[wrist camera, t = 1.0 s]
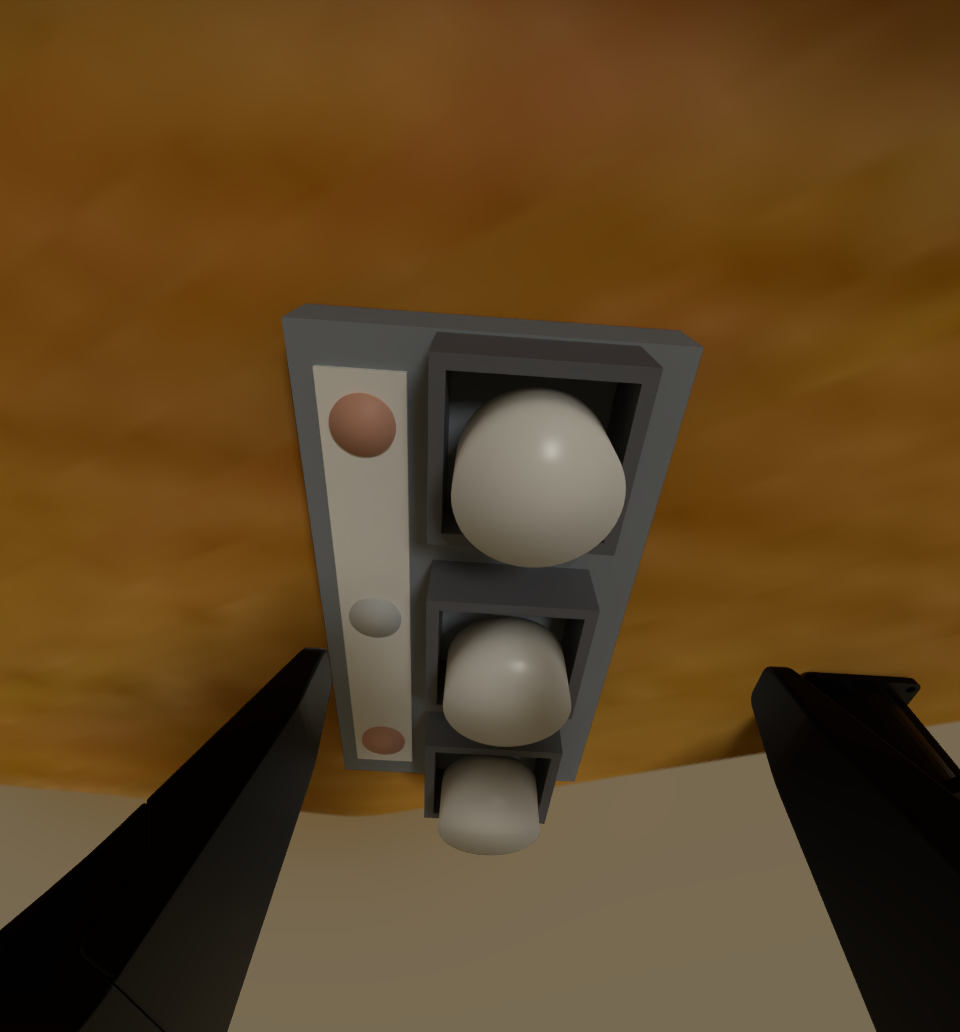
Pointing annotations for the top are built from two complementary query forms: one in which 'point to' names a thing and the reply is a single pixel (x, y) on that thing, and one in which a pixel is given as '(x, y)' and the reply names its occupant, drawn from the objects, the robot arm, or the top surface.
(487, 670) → the button mid
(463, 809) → the button end
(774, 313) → the top surface
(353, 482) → the button board
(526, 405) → the button
